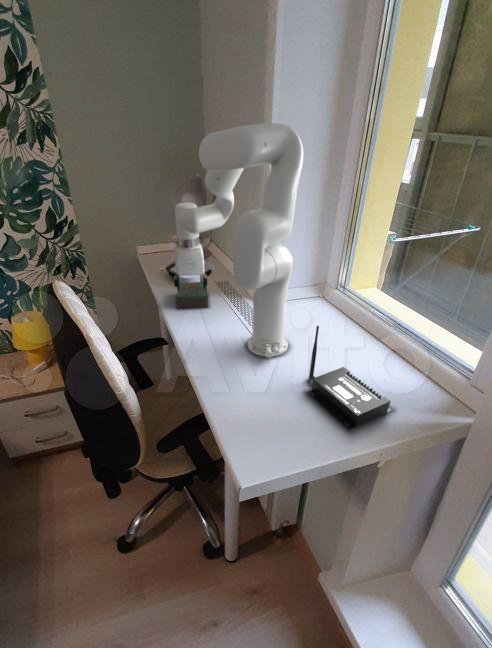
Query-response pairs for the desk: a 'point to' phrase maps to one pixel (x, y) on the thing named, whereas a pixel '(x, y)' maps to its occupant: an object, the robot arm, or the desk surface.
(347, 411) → the wireless controller
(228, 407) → the desk surface
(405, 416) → the desk surface
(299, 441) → the desk surface
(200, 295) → the panel with handle
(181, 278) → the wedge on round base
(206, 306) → the drawer box
